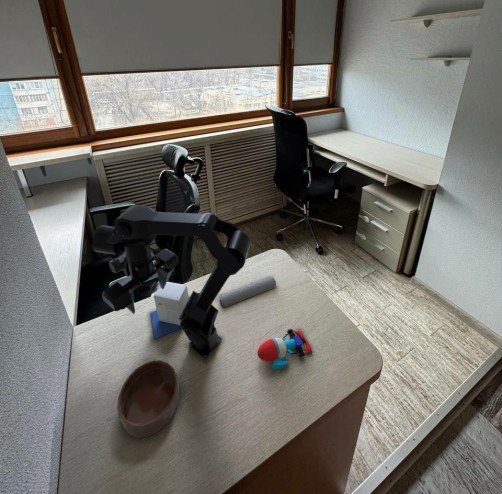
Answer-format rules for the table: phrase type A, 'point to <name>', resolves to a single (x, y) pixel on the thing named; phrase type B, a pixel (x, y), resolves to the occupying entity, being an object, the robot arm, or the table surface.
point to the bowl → (148, 398)
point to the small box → (171, 302)
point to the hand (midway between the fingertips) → (148, 299)
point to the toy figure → (282, 348)
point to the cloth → (162, 326)
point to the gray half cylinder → (247, 291)
